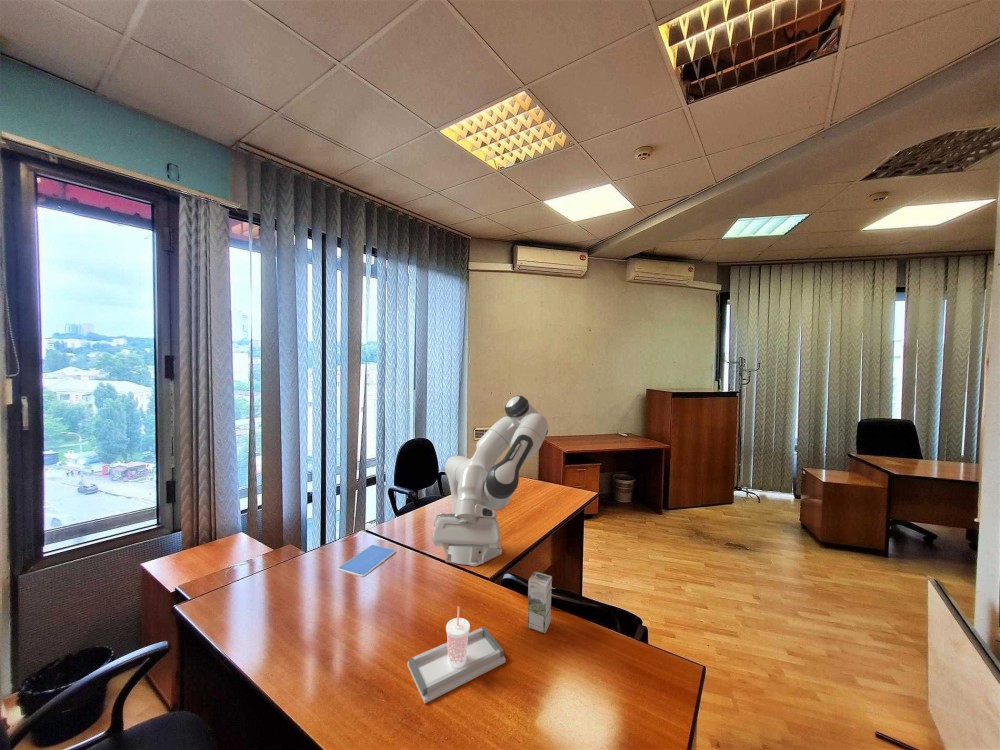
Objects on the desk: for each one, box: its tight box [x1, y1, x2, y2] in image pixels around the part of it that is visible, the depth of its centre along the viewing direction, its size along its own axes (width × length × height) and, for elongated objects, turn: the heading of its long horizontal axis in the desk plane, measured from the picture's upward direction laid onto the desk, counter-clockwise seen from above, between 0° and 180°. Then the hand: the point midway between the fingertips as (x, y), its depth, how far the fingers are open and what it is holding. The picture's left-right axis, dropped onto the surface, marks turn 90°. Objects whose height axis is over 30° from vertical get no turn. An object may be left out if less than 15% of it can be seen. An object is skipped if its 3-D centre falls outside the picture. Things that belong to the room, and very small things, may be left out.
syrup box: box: [526, 571, 553, 634], centre depth 106 cm, size 6×6×14 cm
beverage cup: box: [445, 605, 471, 668], centre depth 92 cm, size 6×6×14 cm
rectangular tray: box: [406, 626, 506, 704], centre depth 92 cm, size 22×12×2 cm, turn 123°
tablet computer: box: [337, 544, 397, 578], centre depth 139 cm, size 19×13×1 cm, turn 159°
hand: (464, 562), depth 103 cm, fingers open, 8 cm apart
